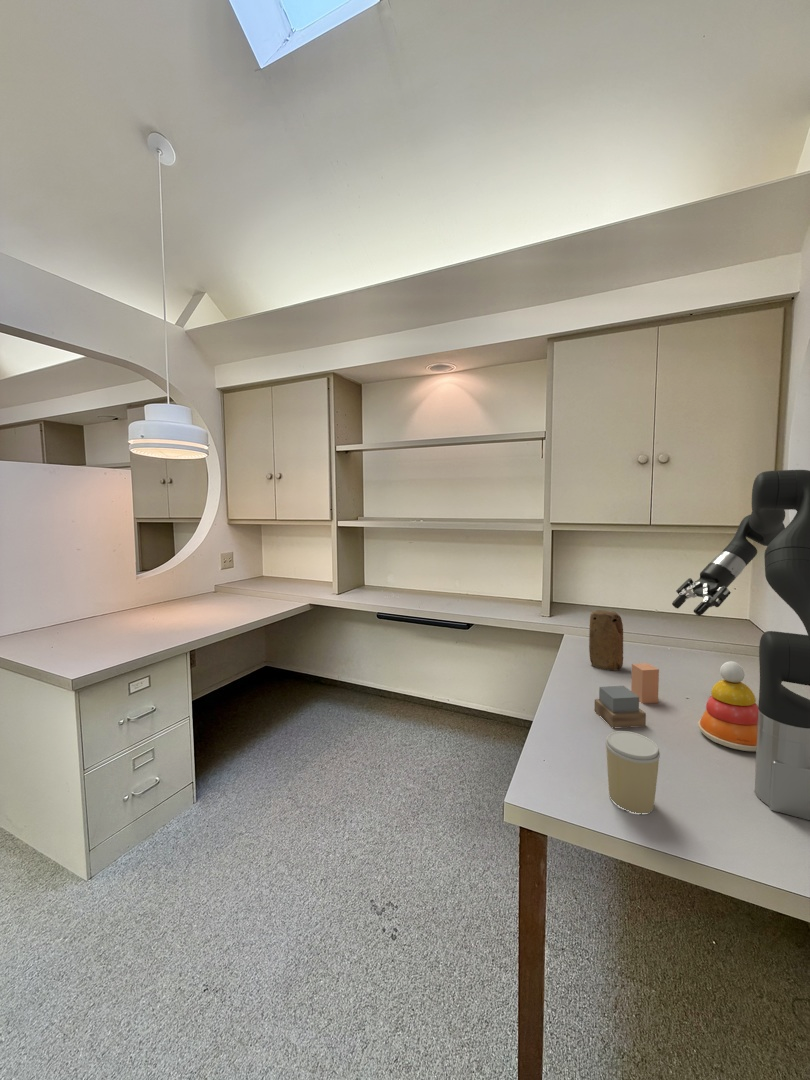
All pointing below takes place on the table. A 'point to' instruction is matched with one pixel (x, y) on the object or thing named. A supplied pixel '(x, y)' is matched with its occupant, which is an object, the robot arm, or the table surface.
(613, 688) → the tower top
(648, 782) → the coffee cup
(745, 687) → the stacking toy
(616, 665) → the block
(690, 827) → the table surface
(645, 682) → the pillar
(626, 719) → the tower base
